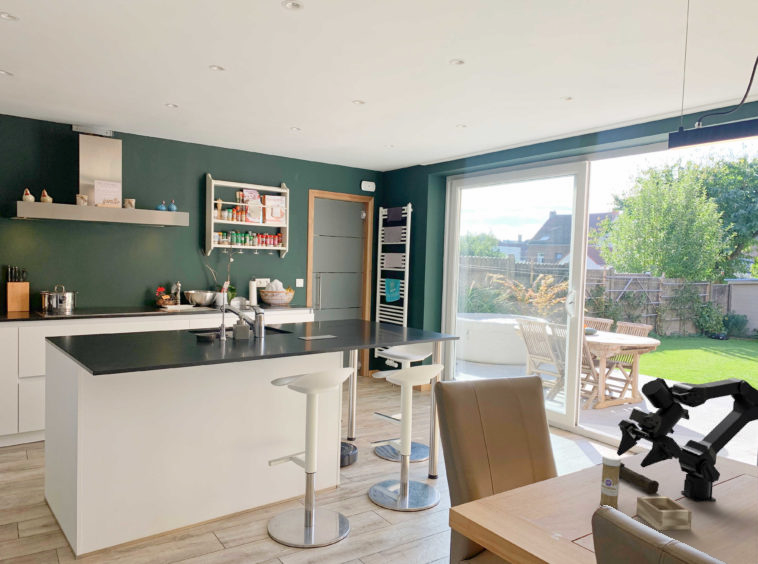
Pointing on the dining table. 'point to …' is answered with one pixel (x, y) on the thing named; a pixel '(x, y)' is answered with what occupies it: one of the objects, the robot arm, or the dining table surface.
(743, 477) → the dining table surface
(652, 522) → the beech holder
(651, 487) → the hand tool
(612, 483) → the sprinkles bottle
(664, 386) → the robot arm
